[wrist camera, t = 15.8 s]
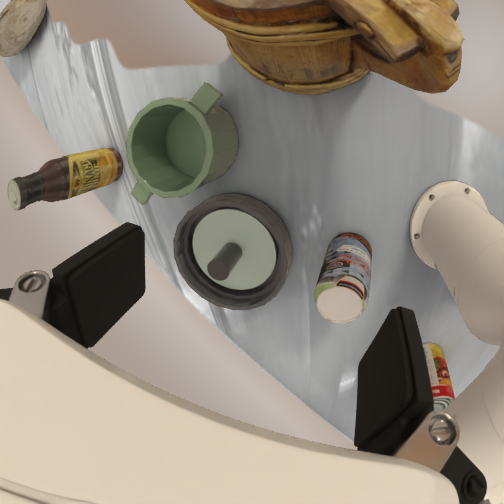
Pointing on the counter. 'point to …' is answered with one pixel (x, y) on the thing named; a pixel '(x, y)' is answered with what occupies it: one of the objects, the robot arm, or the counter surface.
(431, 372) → the canned food
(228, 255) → the lid
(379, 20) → the tankard
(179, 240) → the pan
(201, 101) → the pot
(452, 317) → the counter surface
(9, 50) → the beige rounded lump
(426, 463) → the robot arm
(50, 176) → the sauce bottle
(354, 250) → the beverage can
